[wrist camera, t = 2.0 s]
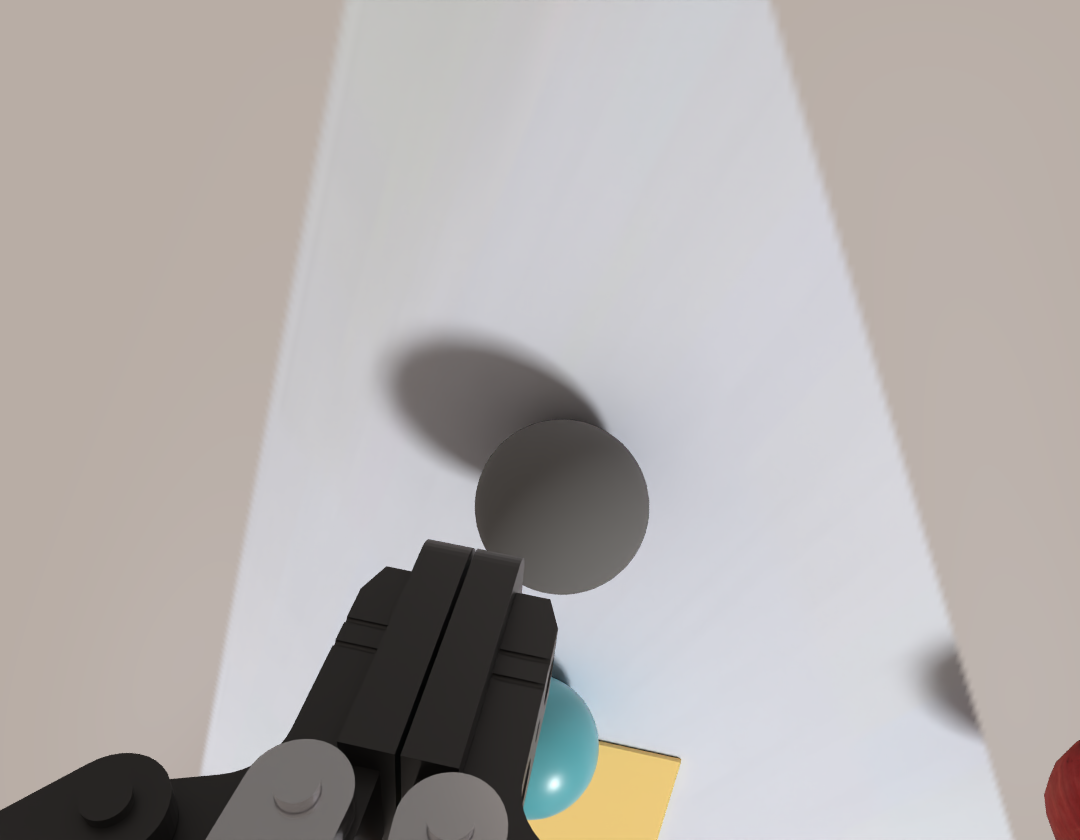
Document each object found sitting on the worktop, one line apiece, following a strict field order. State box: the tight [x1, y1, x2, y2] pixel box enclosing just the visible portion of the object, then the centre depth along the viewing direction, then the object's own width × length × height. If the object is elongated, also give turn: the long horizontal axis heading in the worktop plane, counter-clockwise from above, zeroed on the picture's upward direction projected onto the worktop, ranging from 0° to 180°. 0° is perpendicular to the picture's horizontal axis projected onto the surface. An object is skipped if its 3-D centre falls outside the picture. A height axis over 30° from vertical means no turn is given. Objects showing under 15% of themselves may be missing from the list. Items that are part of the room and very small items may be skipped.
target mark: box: [527, 741, 681, 840], centre depth 46 cm, size 14×14×1 cm
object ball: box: [523, 677, 599, 820], centre depth 38 cm, size 6×6×6 cm
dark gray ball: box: [475, 419, 649, 595], centre depth 30 cm, size 6×6×6 cm
